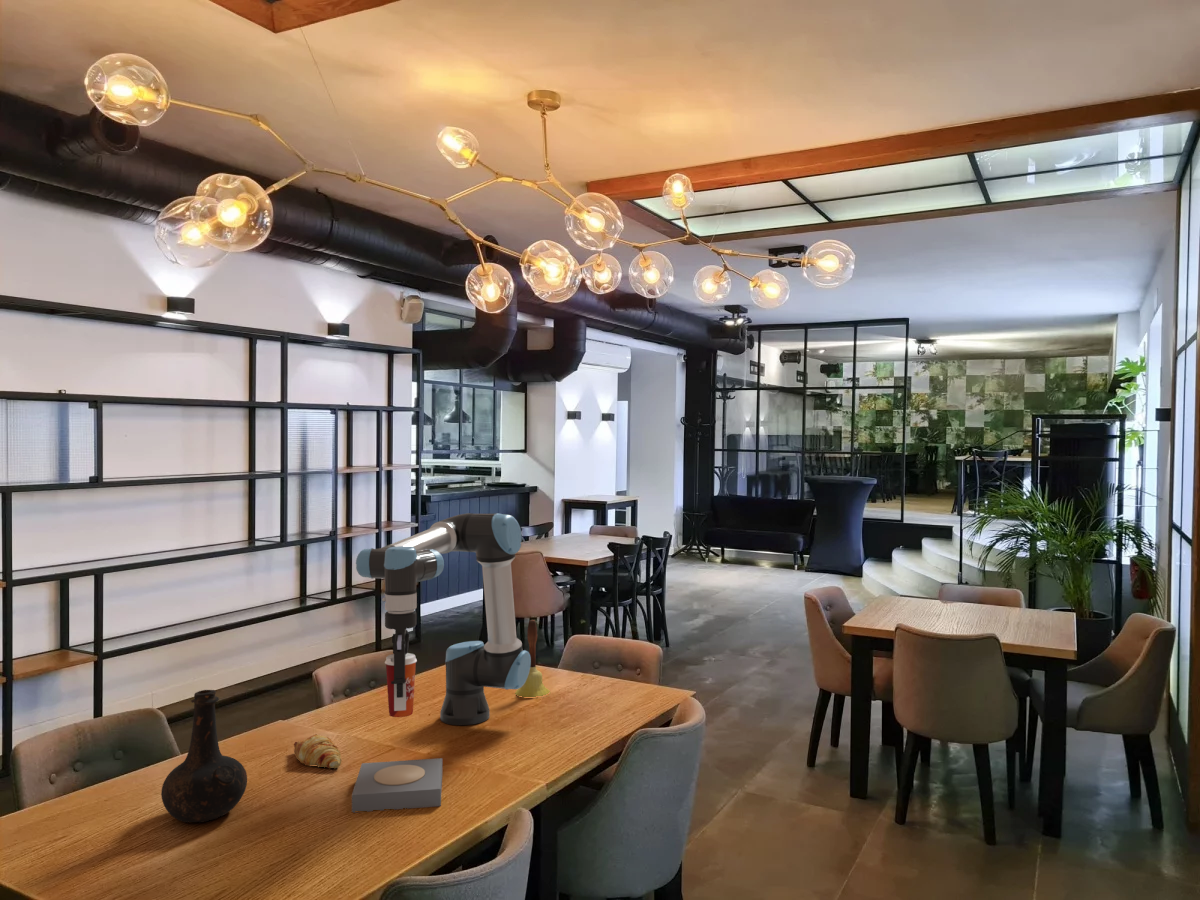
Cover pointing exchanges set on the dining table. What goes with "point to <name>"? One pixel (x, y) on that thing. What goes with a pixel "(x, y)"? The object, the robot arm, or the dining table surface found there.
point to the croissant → (318, 752)
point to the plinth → (398, 785)
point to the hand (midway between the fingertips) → (401, 705)
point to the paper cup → (410, 682)
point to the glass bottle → (204, 771)
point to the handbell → (532, 668)
